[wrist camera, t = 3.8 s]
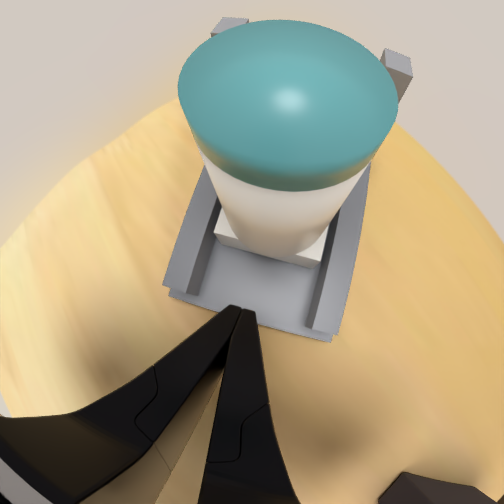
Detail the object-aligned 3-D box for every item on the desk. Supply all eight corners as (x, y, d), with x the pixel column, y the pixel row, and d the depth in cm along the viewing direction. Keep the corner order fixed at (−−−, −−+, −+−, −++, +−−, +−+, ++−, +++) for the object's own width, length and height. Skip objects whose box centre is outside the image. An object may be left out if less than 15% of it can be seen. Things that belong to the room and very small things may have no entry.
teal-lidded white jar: (310, 276, 15) (400, 198, 4) (218, 251, 15) (135, 137, 5) (329, 194, 15) (397, 48, 5) (244, 173, 16) (219, 13, 6)
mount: (326, 340, 15) (397, 371, 6) (174, 297, 16) (80, 277, 7) (363, 156, 17) (415, 60, 8) (235, 124, 18) (216, 17, 9)
